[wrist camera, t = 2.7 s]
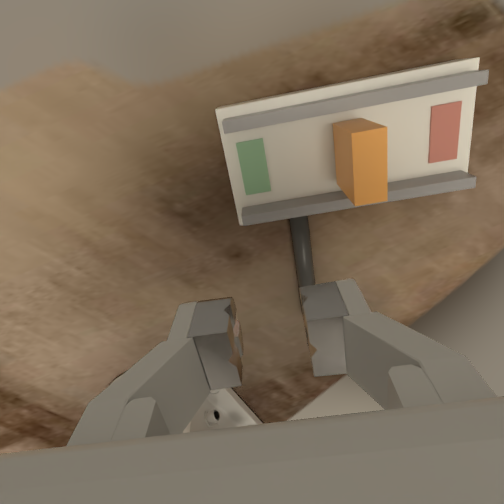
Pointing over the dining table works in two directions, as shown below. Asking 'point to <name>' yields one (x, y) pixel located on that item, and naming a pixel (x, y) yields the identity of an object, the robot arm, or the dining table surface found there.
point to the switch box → (322, 144)
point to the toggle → (361, 160)
